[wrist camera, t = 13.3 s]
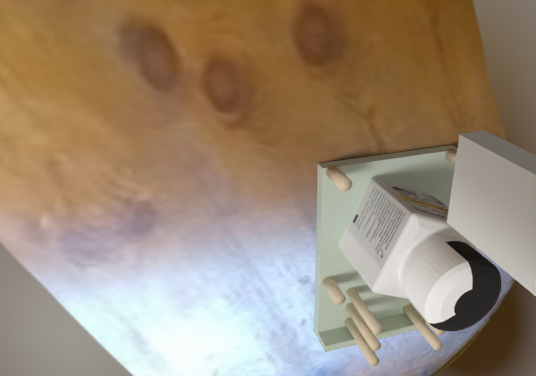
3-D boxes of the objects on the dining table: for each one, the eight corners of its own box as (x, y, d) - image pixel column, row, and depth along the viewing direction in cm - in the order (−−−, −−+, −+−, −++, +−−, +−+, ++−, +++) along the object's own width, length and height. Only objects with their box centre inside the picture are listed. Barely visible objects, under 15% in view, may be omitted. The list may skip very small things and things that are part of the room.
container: (433, 194, 46) (533, 269, 35) (397, 259, 48) (480, 349, 37) (370, 175, 43) (457, 250, 32) (335, 245, 45) (405, 338, 34)
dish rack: (317, 161, 42) (351, 195, 36) (452, 143, 45) (504, 171, 39) (314, 330, 51) (340, 381, 45) (426, 305, 54) (465, 349, 48)
